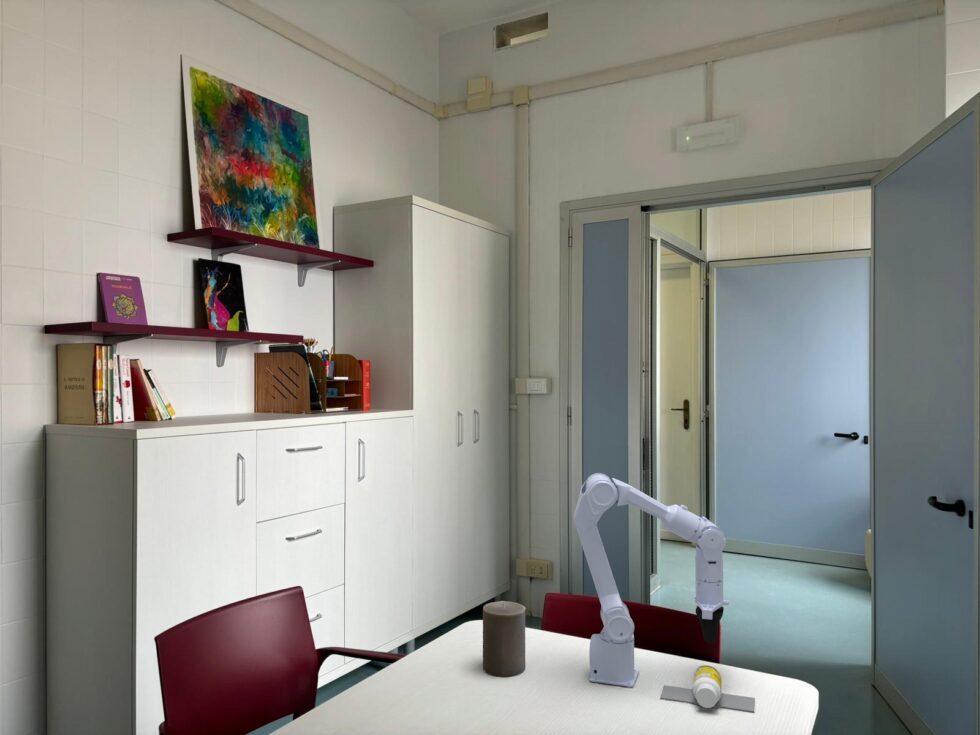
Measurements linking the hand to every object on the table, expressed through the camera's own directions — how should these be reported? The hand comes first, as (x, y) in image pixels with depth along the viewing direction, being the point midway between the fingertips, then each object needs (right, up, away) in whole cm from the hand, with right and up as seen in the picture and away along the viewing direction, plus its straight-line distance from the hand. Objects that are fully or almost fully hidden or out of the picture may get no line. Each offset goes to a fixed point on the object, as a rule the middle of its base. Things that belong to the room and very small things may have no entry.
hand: (710, 641), depth 156 cm
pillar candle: (-44, -9, +7) cm, 46 cm away
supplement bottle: (-2, -5, -6) cm, 8 cm away
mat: (-3, -8, -9) cm, 13 cm away
